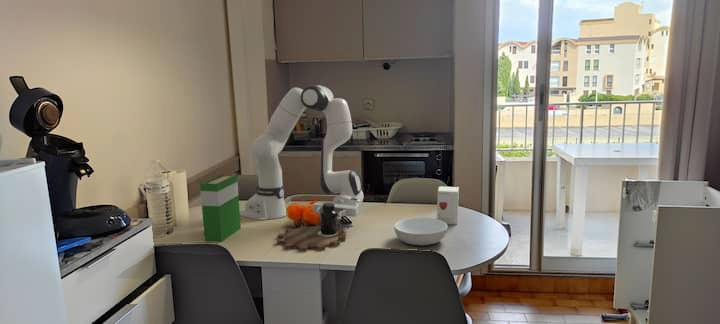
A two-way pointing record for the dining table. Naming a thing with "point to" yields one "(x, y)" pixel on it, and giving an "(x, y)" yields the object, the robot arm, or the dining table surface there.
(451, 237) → the dining table surface
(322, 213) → the supplement bottle
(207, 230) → the green cereal box
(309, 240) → the sprocket wheel
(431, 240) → the serving bowl
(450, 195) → the supplement box
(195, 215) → the dining table surface
